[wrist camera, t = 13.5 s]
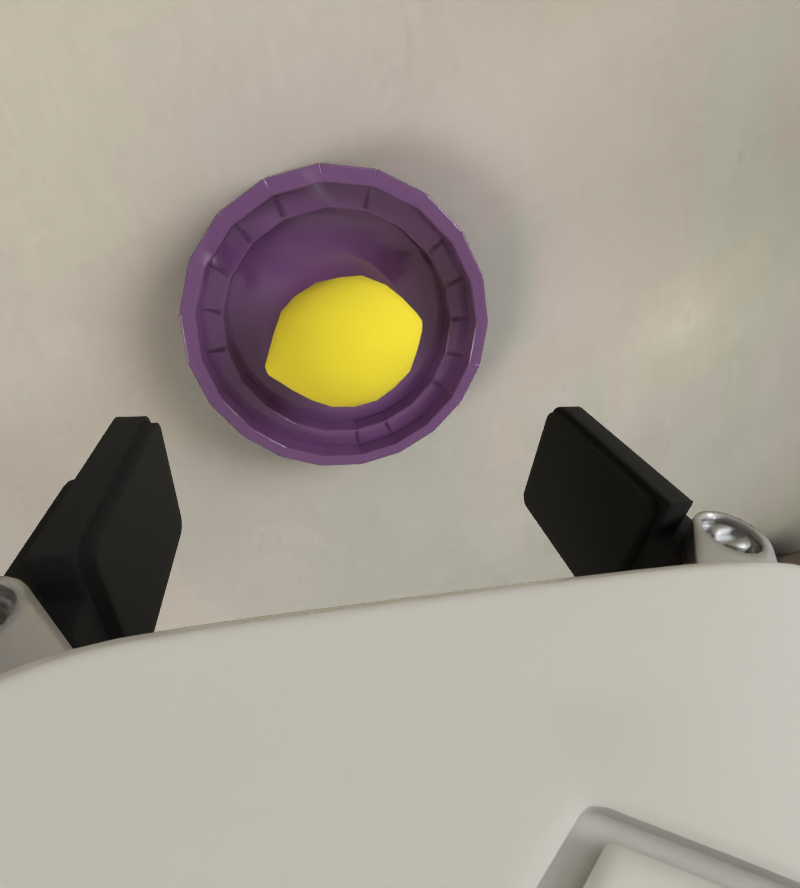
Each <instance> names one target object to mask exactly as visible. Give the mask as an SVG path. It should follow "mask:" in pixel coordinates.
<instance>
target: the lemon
mask: <svg viewBox="0 0 800 888" xmlns="http://www.w3.org/2000/svg"><path fill="white" fill-rule="evenodd" d="M421 334H422V320H421V318H420V317H419V315H418V314H417V313H416V312H415V311H414V310H413V309H412V308H411V307H410V305H409V304H408V303H407V302H406V301H405V300H404V299H403V298H402V297H400V296H399V295H398V294H397V293H395V292H394V291H393V290H392V289H390V288H389V287H388V286H387V285H385V284H382V283H380V282H377V281H375V280H372V279H370V278H367V277H365V276H362V275H361V276H348V277H338V278H334V279H330V280H326V281H322V282H317V283H315V284H313V285H312V286H310V287H309V288H307V289H305V290H304V291H302V292H301V293H299V294H298V295H296V296H295V297H294V298H293V299H292V300H291V301H290V302H289V303H288V304H287V306H286V307H285V308H284V309H283V310H282V311H281V313H280V316H279V319H278V322H277V325H276V328H275V331H274V334H273V338H272V342H271V346H270V349H269V353H268V357H267V361H266V364H265V368H266V371H267V373H268V375H269V376H271V377H272V378H274V379H276V380H277V381H279V382H280V383H282V384H283V385H285V386H287V387H288V388H290V389H291V390H293V391H295V392H297V393H299V394H301V395H303V396H304V397H306V398H308V399H310V400H312V401H315V402H318V403H322V404H325V405H328V406H331V407H356V406H359V405H363V404H366V403H370V402H373V401H377V400H378V399H379V398H381V397H382V396H384V395H385V394H386V393H388V392H389V391H391V390H392V389H393V388H395V387H396V385H397V384H398V383H399V382H400V381H401V380H402V379H403V378H404V377H405V376H406V375H407V374H408V373H409V372H410V369H411V367H412V364H413V361H414V358H415V355H416V353H417V349H418V345H419V341H420V338H421Z"/></svg>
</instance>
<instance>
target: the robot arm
mask: <svg viewBox="0 0 800 888" xmlns="http://www.w3.org/2000/svg"><path fill="white" fill-rule="evenodd" d="M524 502H525V505H526V507H527V508H528V510H529V511H530V513H531V514H532V515H533V517H534V518H535V520H536V521H537V523H538V524H539V526H540V527H541V528H542V530H543V531H544V533H545V534H546V536H547V537H548V538H549V540H550V541H551V543H552V544H553V546H554V547H555V549H556V550H557V551H558V553H559V554H560V556H561V557H562V559H563V560H564V562H565V563H566V564H567V566H568V567H569V569H570V570H571V572H572V573H573V575H574V576H575V577H571V578H562V579H554V580H545V581H537V582H528V583H520V584H512V585H504V586H496V587H488V588H480V589H471V590H463V591H455V592H447V593H439V594H431V595H423V596H415V597H407V598H399V599H391V600H384V601H376V602H368V603H361V604H353V605H345V606H337V607H330V608H322V609H314V610H307V611H299V612H291V613H283V614H276V615H268V616H261V617H253V618H246V619H239V620H232V621H224V622H217V623H210V624H203V625H196V626H190V627H183V628H177V629H171V630H165V631H159V632H154V630H155V626H156V622H157V619H158V615H159V611H160V608H161V604H162V601H163V597H164V593H165V590H166V586H167V582H168V579H169V575H170V571H171V568H172V564H173V561H174V557H175V553H176V550H177V546H178V542H179V539H180V535H181V529H182V520H181V514H180V510H179V506H178V501H177V497H176V492H175V488H174V484H173V479H172V475H171V471H170V466H169V462H168V457H167V453H166V449H165V444H164V440H163V435H162V431H161V427H160V425H159V424H158V423H151V422H150V420H149V418H148V417H147V416H141V417H116V418H115V419H114V420H113V421H112V423H111V425H110V426H109V428H108V429H107V431H106V432H105V434H104V435H103V437H102V438H101V440H100V441H99V443H98V444H97V446H96V448H95V449H94V451H93V452H92V454H91V455H90V457H89V458H88V460H87V461H86V463H85V464H84V466H83V467H82V469H81V471H80V472H79V474H78V475H77V477H76V478H75V480H71V481H68V482H67V484H66V485H65V486H64V487H63V488H62V490H61V491H60V493H59V494H58V496H57V497H56V499H55V500H54V502H53V503H52V505H51V506H50V508H49V509H48V511H47V512H46V514H45V515H44V517H43V518H42V520H41V521H40V523H39V524H38V526H37V527H36V529H35V530H34V532H33V533H32V535H31V536H30V537H29V539H28V540H27V542H26V543H25V545H24V547H23V548H22V550H21V551H20V552H19V554H18V555H17V557H16V559H15V560H14V561H13V563H12V564H11V566H10V567H9V569H8V570H7V572H6V573H5V575H4V576H0V888H800V565H795V564H789V563H783V562H780V561H777V559H776V556H775V552H774V549H773V547H772V545H771V543H770V541H769V540H768V539H767V538H766V537H765V536H764V535H763V534H762V533H761V532H760V531H759V530H757V529H756V528H755V527H753V526H752V525H750V524H748V523H746V522H744V521H743V520H741V519H739V518H736V517H733V516H731V515H728V514H725V513H721V512H716V511H703V512H699V513H697V514H696V515H695V516H694V518H693V519H692V520H691V519H690V518H689V517H688V516H687V515H686V514H687V512H688V510H689V508H690V507H691V505H692V503H693V501H692V500H690V499H689V498H688V497H687V496H686V495H684V494H683V493H682V492H681V491H680V490H679V489H677V488H676V487H675V486H674V485H673V484H671V483H670V482H669V481H668V480H667V479H665V478H664V477H663V476H662V475H661V474H660V473H658V472H657V471H656V470H655V469H654V468H652V467H651V466H650V465H649V464H648V463H646V462H645V461H644V460H643V459H642V458H641V457H639V456H638V455H637V454H636V453H635V452H633V451H632V450H631V449H630V448H629V447H627V446H626V445H625V444H624V443H623V442H622V441H620V440H619V439H618V438H617V437H616V436H614V435H613V434H612V433H611V432H610V431H608V430H607V429H606V428H605V427H604V426H603V425H601V424H600V423H599V422H598V421H597V420H595V419H594V418H593V417H592V416H591V415H589V414H588V413H587V412H586V411H585V410H583V409H582V408H581V407H558V408H556V409H555V410H554V411H553V413H550V414H549V415H548V417H547V419H546V422H545V426H544V429H543V432H542V436H541V439H540V442H539V445H538V449H537V452H536V455H535V459H534V462H533V465H532V468H531V472H530V475H529V478H528V482H527V485H526V488H525V491H524Z"/></svg>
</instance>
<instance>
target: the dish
mask: <svg viewBox="0 0 800 888" xmlns="http://www.w3.org/2000/svg"><path fill="white" fill-rule="evenodd" d="M189 260H190V261H189V262H188V267H187V272H186V278H185V283H184V289H183V294H182V300H181V306H180V320H181V326H182V332H183V338H184V343H185V349H186V355H187V361H188V364H189V366H190V368H191V370H192V371H193V373H194V375H195V377H196V379H197V381H198V383H199V384H200V386H201V388H202V390H203V392H204V394H205V396H206V397H207V399H208V401H209V403H210V404H211V405H212V406H213V407H214V408H215V409H216V410H217V411H218V412H219V413H220V414H221V415H222V416H223V417H224V418H225V419H226V420H227V421H228V422H229V423H230V424H231V425H232V426H233V427H234V428H235V429H236V430H237V431H238V432H239V433H240V434H241V435H244V437H245V438H247V439H249V440H251V441H253V442H255V443H257V444H259V445H261V446H262V447H264V448H266V449H268V450H270V451H272V452H274V453H276V454H277V455H279V456H282V457H285V458H290V459H294V460H299V461H303V462H308V463H312V464H317V465H347V464H361V463H362V464H363V463H366V462H370V461H373V460H376V459H379V458H383V457H386V456H389V455H392V454H396V453H399V451H400V452H401V451H402V450H404V449H406V448H407V447H409V446H411V445H412V444H414V443H415V442H417V441H419V440H420V439H422V438H423V437H425V436H427V435H428V434H430V433H431V432H433V431H434V430H435V429H436V428H437V427H438V426H439V425H440V424H441V423H442V421H443V420H444V419H445V418H446V417H447V416H448V415H449V414H450V413H451V412H452V411H453V410H454V409H455V407H456V406H457V405H458V404H459V403H460V401H461V400H462V398H463V397H464V395H465V393H466V391H467V389H468V387H469V385H470V383H471V381H472V379H473V377H474V375H475V373H476V371H477V369H478V367H479V364H480V361H481V356H482V350H483V345H484V340H485V335H486V330H487V324H488V323H487V322H488V318H487V309H486V300H485V291H484V282H483V277H482V273H481V271H480V269H479V267H478V265H477V262H476V260H475V258H474V256H473V254H472V251H471V249H470V247H469V245H468V243H467V240H466V238H465V236H464V234H463V233H462V231H461V230H460V229H459V227H458V226H457V225H456V224H455V223H454V222H453V221H452V220H451V219H450V218H449V217H448V216H447V215H446V214H445V213H444V212H443V211H442V210H441V208H440V207H439V206H438V205H437V204H436V203H435V202H434V201H433V200H432V199H431V198H430V197H429V196H428V195H427V194H426V193H424V192H422V191H420V190H418V189H416V188H414V187H412V186H410V185H408V184H406V183H404V182H402V181H400V180H398V179H396V178H394V177H392V176H390V175H388V174H386V173H384V172H382V171H380V170H378V169H374V168H364V167H355V166H346V165H336V164H327V163H320V164H319V163H316V164H312V165H309V166H305V167H301V168H298V169H294V170H290V171H287V172H283V173H279V174H276V175H272V176H268V177H266V178H264V179H262V180H260V181H259V182H258V183H256V184H255V185H254V186H252V187H251V188H250V189H248V190H247V191H246V192H244V193H243V194H242V195H240V196H239V197H238V198H237V199H235V200H234V201H233V202H231V203H230V204H229V205H227V206H226V207H225V208H223V209H222V210H221V211H219V213H218V214H217V215H216V216H215V218H214V220H213V221H212V223H211V224H210V226H209V228H208V229H207V231H206V233H205V234H204V236H203V238H202V239H201V241H200V243H199V244H198V246H197V247H196V249H195V251H194V252H193V254H192V256H191V257H190V259H189ZM361 275H362V276H365V277H367V278H370V279H372V280H375V281H377V282H380V283H382V284H385V285H387V286H388V287H389V288H390V289H392V290H393V291H394V292H395V293H397V294H398V295H399V296H400V297H402V298H403V299H404V300H405V301H406V302H407V303H408V304H409V305H410V307H411V308H412V309H413V310H414V311H415V312H416V313H417V314H418V315H419V317H420V318H421V320H422V334H421V338H420V341H419V345H418V349H417V353H416V355H415V358H414V361H413V364H412V367H411V369H410V372H409V373H408V374H407V375H406V376H405V377H404V378H403V379H402V380H401V381H400V382H399V383H398V384H397V385H396V387H395V388H393V389H392V390H391V391H389V392H388V393H386V394H385V395H384V396H382V397H381V398H379V399H378V400H377V401H373V402H370V403H366V404H363V405H359V406H356V407H331V406H328V405H325V404H322V403H318V402H315V401H312V400H310V399H308V398H306V397H304V396H303V395H301V394H299V393H297V392H295V391H293V390H291V389H290V388H288V387H287V386H285V385H283V384H282V383H280V382H279V381H277V380H276V379H274V378H272V377H271V376H269V375H268V373H267V371H266V368H265V364H266V361H267V357H268V353H269V349H270V346H271V342H272V338H273V334H274V331H275V328H276V325H277V322H278V319H279V316H280V313H281V311H282V310H283V309H284V308H285V307H286V306H287V304H288V303H289V302H290V301H291V300H292V299H293V298H294V297H295V296H296V295H298V294H299V293H301V292H302V291H304V290H305V289H307V288H309V287H310V286H312V285H313V284H315V283H317V282H322V281H326V280H330V279H334V278H338V277H348V276H361Z"/></svg>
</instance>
